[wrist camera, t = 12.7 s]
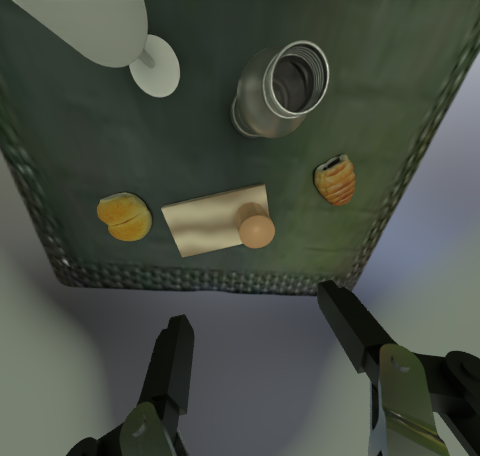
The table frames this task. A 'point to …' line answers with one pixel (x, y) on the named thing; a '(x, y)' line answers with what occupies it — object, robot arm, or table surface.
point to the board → (210, 219)
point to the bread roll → (125, 216)
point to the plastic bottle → (279, 89)
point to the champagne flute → (112, 38)
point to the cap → (254, 225)
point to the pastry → (336, 180)
